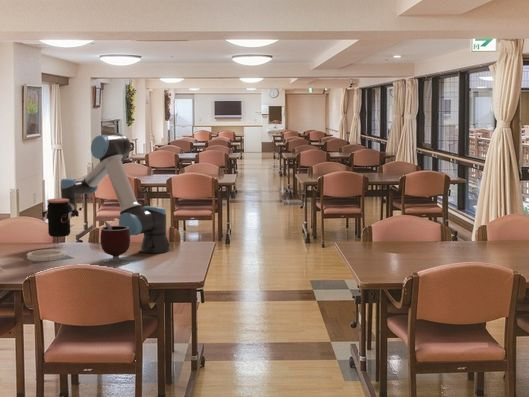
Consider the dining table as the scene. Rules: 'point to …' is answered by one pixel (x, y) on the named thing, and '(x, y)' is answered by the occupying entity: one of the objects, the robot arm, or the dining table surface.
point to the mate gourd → (115, 243)
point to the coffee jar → (58, 217)
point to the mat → (46, 261)
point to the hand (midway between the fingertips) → (57, 216)
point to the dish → (46, 255)
